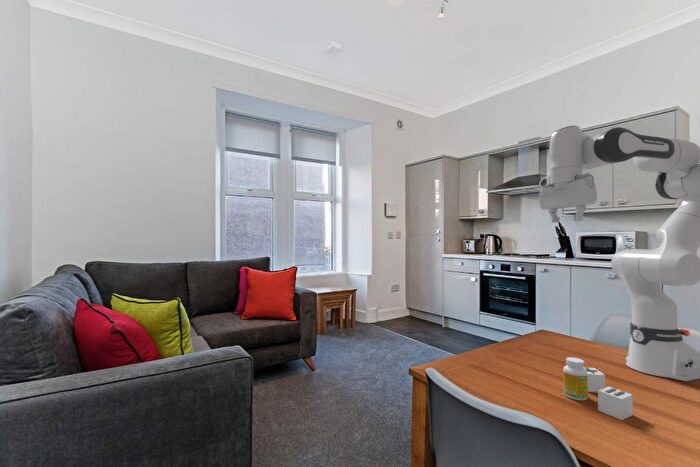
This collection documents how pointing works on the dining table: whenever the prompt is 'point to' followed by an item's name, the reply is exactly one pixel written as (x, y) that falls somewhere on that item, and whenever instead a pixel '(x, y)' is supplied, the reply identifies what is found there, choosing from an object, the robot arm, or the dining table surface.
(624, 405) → the marked block front
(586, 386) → the supplement bottle
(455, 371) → the dining table surface
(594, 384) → the marked block back
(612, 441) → the dining table surface
